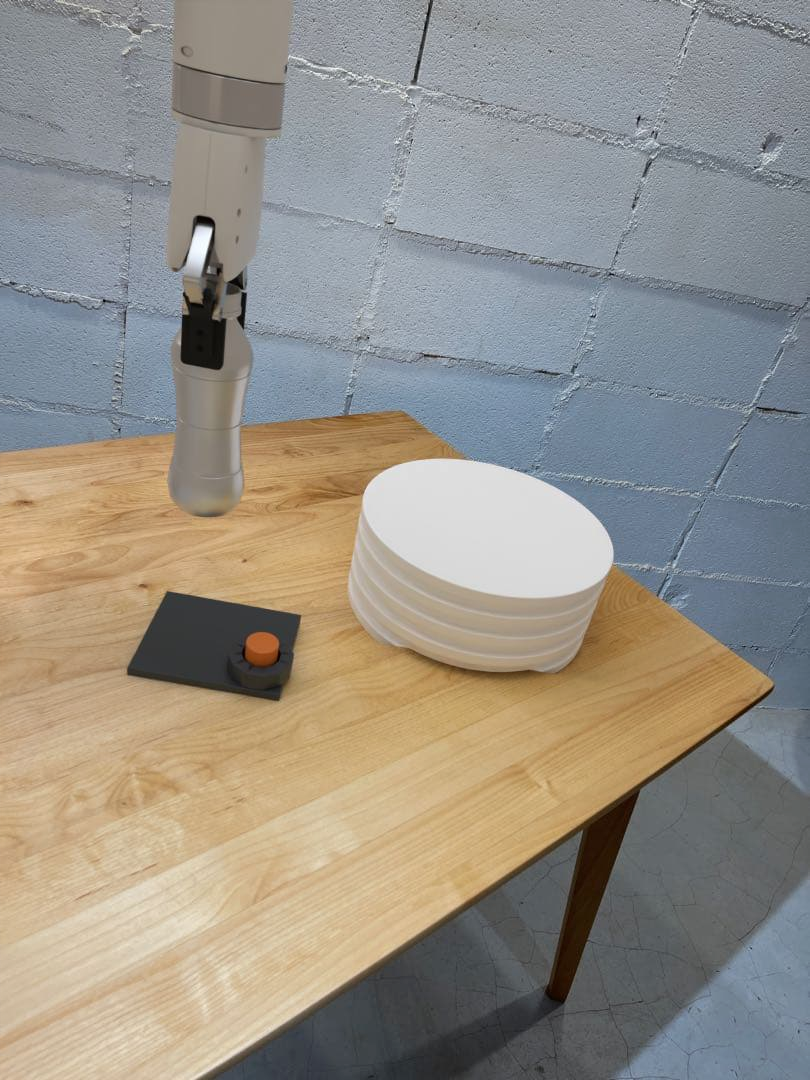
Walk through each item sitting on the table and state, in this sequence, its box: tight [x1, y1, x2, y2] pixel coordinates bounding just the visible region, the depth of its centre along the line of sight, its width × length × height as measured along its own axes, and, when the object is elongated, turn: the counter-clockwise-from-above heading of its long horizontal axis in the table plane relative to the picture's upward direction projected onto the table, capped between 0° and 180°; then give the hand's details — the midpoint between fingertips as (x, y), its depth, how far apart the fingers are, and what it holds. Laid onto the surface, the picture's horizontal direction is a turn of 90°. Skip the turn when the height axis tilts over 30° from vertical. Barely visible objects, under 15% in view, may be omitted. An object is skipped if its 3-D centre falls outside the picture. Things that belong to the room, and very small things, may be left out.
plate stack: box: [346, 458, 615, 675], centre depth 92 cm, size 28×28×12 cm
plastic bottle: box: [166, 283, 255, 518], centre depth 68 cm, size 6×7×20 cm
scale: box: [126, 590, 302, 702], centre depth 79 cm, size 14×12×4 cm
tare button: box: [245, 632, 279, 667], centre depth 76 cm, size 3×3×2 cm
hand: (213, 348), depth 66 cm, fingers closed on plastic bottle, 6 cm apart
